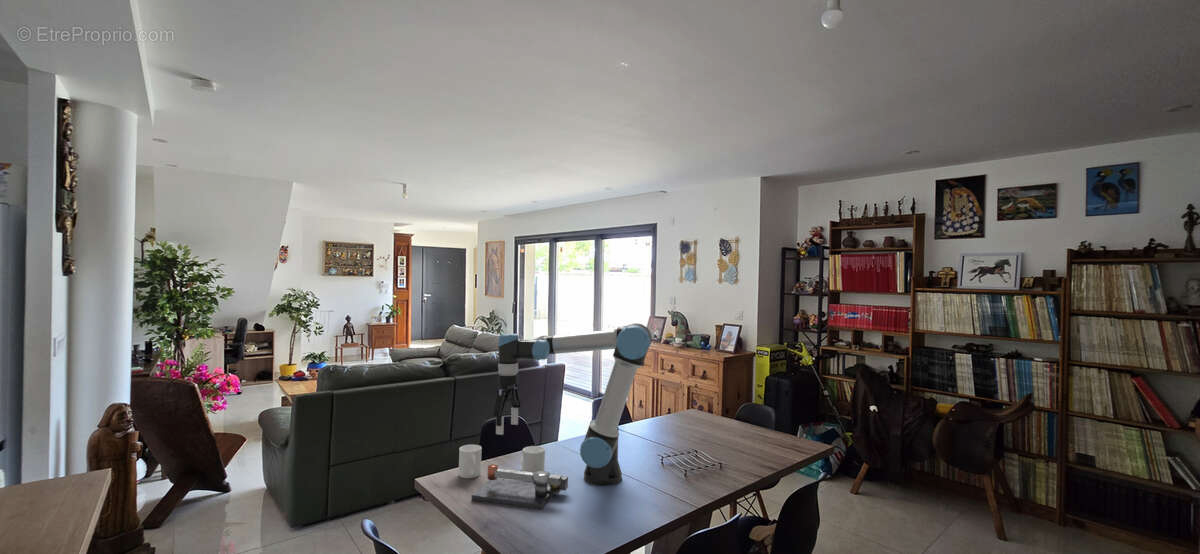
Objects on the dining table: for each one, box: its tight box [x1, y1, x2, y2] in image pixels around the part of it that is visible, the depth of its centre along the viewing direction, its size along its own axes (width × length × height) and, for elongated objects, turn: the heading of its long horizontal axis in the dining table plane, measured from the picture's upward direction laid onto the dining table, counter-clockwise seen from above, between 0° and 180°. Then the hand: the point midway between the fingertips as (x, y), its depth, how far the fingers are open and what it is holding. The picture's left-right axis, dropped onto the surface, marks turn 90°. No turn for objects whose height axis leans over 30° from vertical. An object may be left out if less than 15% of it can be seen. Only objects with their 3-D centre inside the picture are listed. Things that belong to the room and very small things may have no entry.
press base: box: [471, 475, 569, 511], centre depth 177 cm, size 30×16×6 cm, turn 77°
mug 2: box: [519, 445, 546, 473], centre depth 202 cm, size 12×9×9 cm
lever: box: [487, 464, 562, 486], centre depth 177 cm, size 28×6×4 cm, turn 77°
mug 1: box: [458, 444, 483, 479], centre depth 195 cm, size 9×12×11 cm
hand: (507, 429), depth 189 cm, fingers open, 13 cm apart
